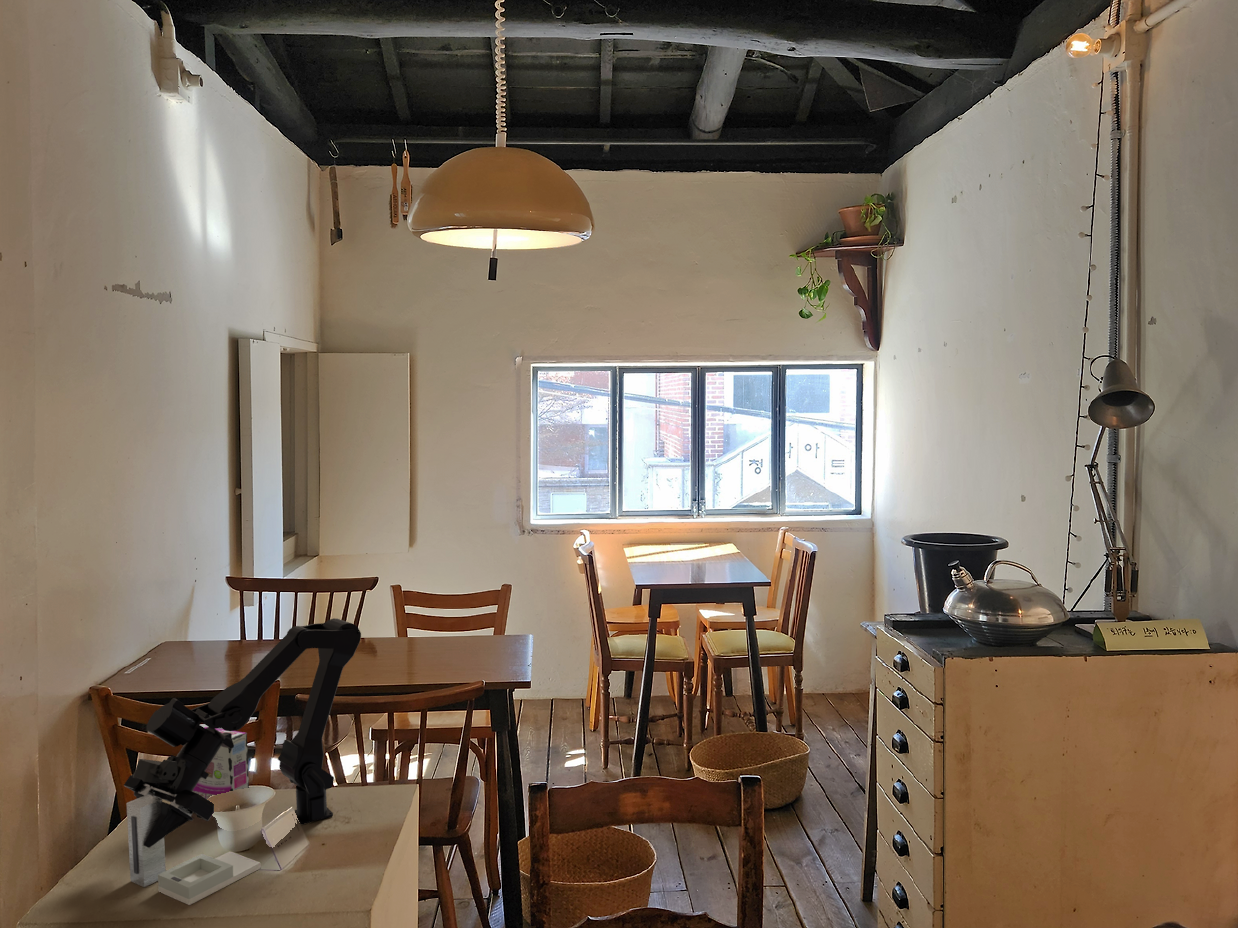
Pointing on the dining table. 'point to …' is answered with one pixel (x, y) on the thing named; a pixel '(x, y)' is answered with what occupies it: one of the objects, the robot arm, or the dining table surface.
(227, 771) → the candy bar box
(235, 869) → the white tray
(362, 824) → the dining table surface
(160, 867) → the block
